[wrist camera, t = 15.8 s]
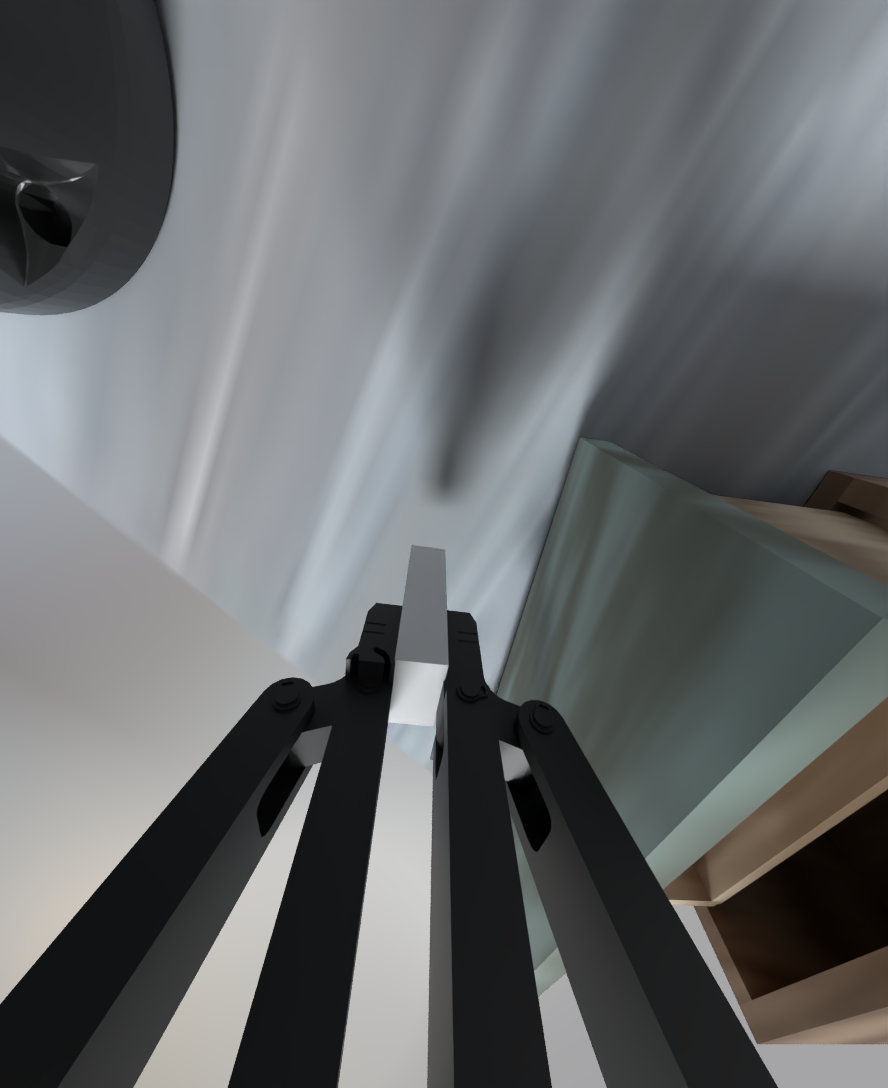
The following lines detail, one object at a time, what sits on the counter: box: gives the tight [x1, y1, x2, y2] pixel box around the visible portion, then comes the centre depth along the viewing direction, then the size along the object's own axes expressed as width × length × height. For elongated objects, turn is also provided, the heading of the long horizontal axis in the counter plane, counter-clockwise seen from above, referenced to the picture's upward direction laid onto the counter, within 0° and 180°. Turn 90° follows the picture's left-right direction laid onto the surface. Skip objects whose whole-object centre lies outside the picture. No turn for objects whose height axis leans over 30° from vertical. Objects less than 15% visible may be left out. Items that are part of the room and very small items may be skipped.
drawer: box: [497, 437, 888, 997], centre depth 17 cm, size 16×26×12 cm, turn 172°
